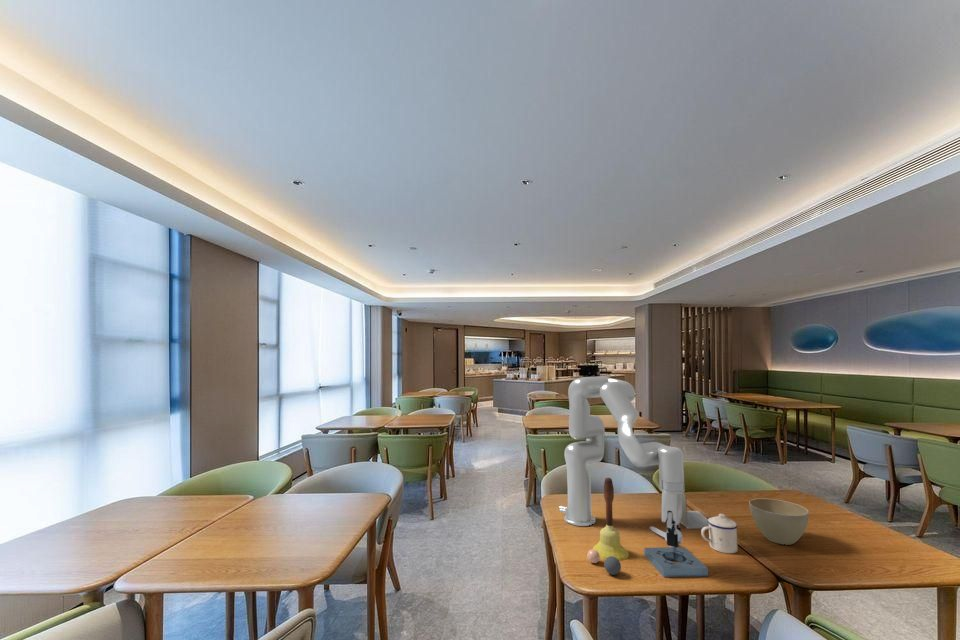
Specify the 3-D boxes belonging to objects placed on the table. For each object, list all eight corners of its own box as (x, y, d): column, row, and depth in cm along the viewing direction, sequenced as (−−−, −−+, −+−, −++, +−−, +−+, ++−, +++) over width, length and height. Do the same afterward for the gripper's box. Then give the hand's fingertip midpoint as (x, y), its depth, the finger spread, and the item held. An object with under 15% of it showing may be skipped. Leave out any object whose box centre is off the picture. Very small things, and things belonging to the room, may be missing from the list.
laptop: (719, 530, 164) (717, 495, 165) (686, 529, 165) (685, 495, 166) (698, 512, 182) (697, 482, 183) (668, 512, 183) (667, 481, 184)
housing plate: (663, 577, 129) (663, 568, 129) (644, 555, 143) (644, 547, 143) (708, 576, 129) (707, 567, 130) (684, 554, 143) (684, 547, 144)
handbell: (628, 563, 137) (626, 485, 139) (590, 557, 142) (588, 481, 144) (629, 547, 149) (627, 475, 151) (593, 542, 153) (592, 472, 155)
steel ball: (664, 545, 136) (664, 529, 136) (667, 539, 140) (667, 524, 140) (681, 549, 133) (680, 532, 134) (684, 543, 137) (683, 527, 138)
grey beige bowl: (802, 534, 159) (800, 502, 160) (817, 555, 143) (815, 518, 144) (747, 526, 167) (745, 495, 168) (755, 545, 150) (753, 510, 151)
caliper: (677, 553, 145) (676, 534, 145) (673, 553, 145) (673, 534, 145) (651, 528, 165) (651, 512, 166) (649, 528, 165) (648, 512, 166)
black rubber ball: (602, 574, 130) (601, 558, 131) (607, 568, 134) (606, 551, 135) (618, 579, 127) (618, 562, 128) (623, 572, 132) (622, 556, 132)
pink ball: (585, 563, 137) (585, 550, 138) (589, 558, 141) (589, 546, 141) (597, 566, 135) (597, 553, 136) (601, 561, 138) (601, 549, 139)
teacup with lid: (728, 542, 153) (727, 509, 154) (744, 554, 144) (742, 519, 145) (695, 542, 153) (694, 509, 154) (709, 554, 144) (707, 519, 145)
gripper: (664, 477, 147) (666, 531, 146) (654, 490, 133) (656, 549, 132) (688, 481, 143) (690, 536, 142) (680, 494, 129) (682, 556, 127)
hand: (674, 542), depth 137 cm, fingers closed on steel ball, 5 cm apart
